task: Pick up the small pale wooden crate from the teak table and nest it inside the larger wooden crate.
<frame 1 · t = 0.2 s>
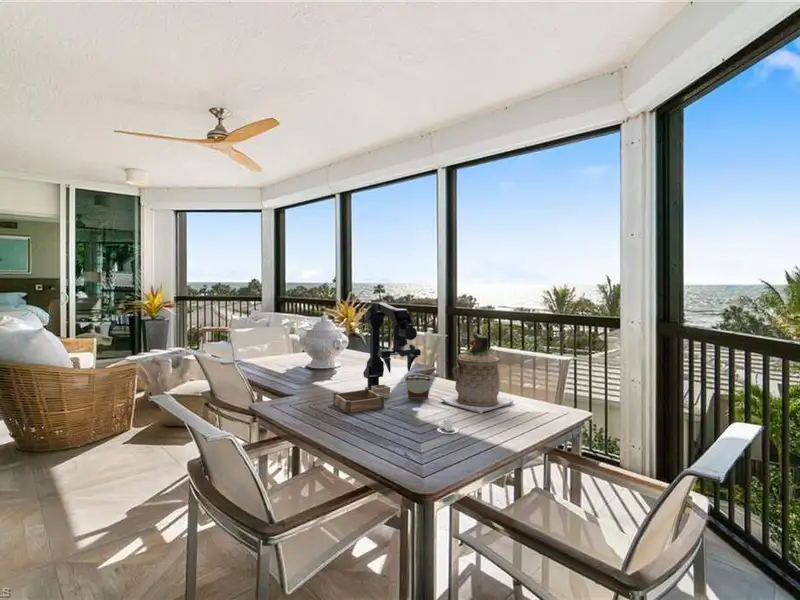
hand: (399, 371, 199), 14 cm above the table, tool pointing down, fingers open, 9 cm apart
teacup and saucer: (452, 429, 167), on the table
cookie jar: (476, 403, 199), on the table
pale crate: (380, 397, 209), on the table
food container: (418, 396, 210), on the table
crate: (358, 405, 195), on the table
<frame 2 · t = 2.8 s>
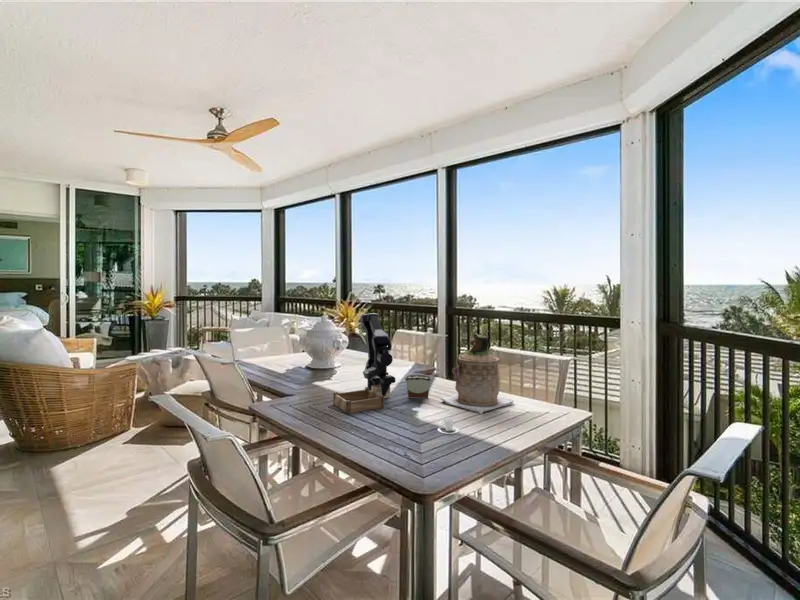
hand: (380, 394, 209), 1 cm above the table, tool pointing down, fingers closed on pale crate, 6 cm apart
pale crate: (380, 396, 209), on the table, touching gripper
everything else where it was.
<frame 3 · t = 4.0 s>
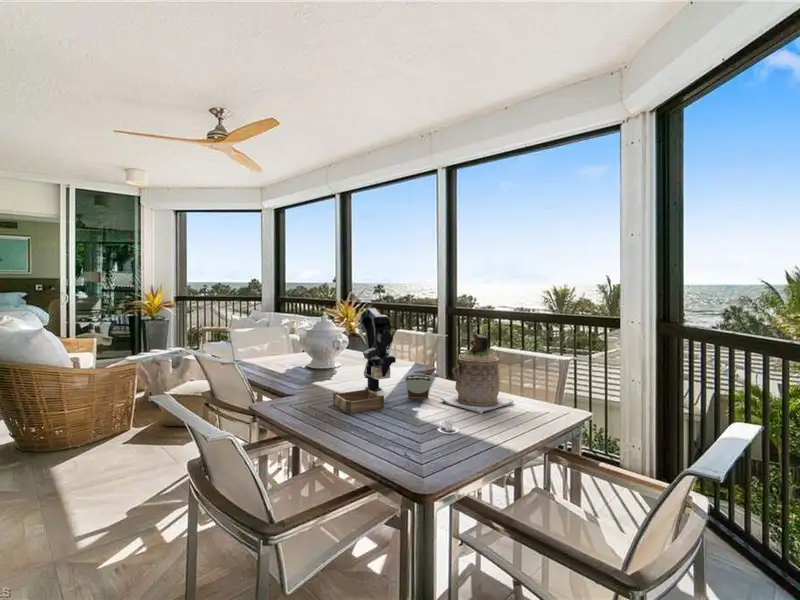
hand: (380, 375, 208), 10 cm above the table, tool pointing down, fingers closed on pale crate, 6 cm apart
pale crate: (380, 377, 208), point 9 cm above the table, touching gripper
everything else where it was.
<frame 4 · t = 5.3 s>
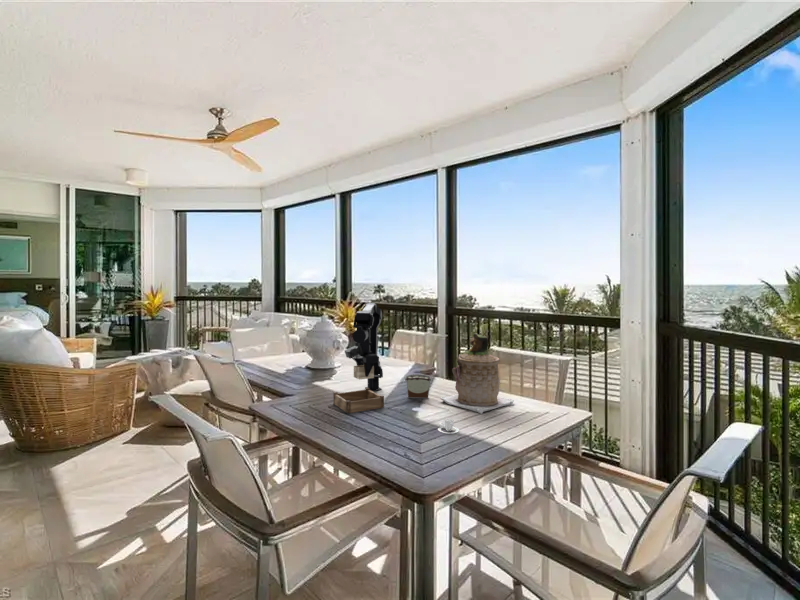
hand: (363, 375, 197), 13 cm above the table, tool pointing down, fingers closed on pale crate, 6 cm apart
pale crate: (363, 377, 197), point 12 cm above the table, touching gripper
everything else where it was.
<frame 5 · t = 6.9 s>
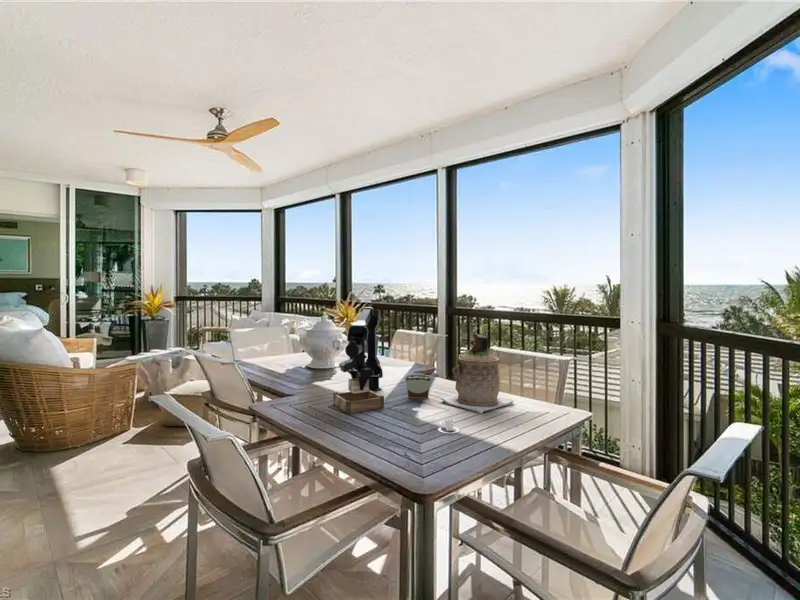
hand: (358, 388, 194), 7 cm above the table, tool pointing down, fingers closed on pale crate, 6 cm apart
pale crate: (358, 390, 194), point 6 cm above the table, touching gripper
everything else where it was.
when the fingers open (3 cm above the table, at t = 8.3 s): pale crate drops 2 cm, resting on crate.
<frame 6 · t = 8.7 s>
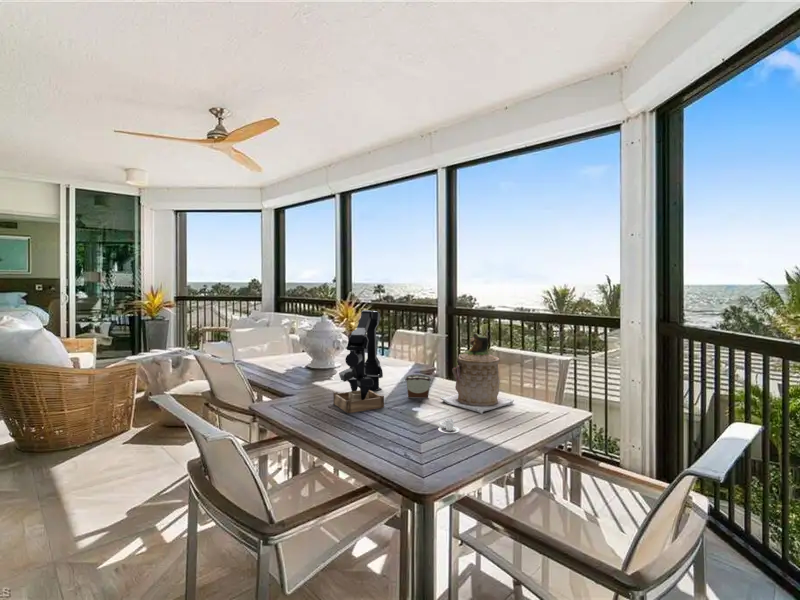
hand: (358, 397, 195), 3 cm above the table, tool pointing down, fingers open, 9 cm apart
pale crate: (358, 403, 195), point 1 cm above the table, touching crate
everything else where it was.
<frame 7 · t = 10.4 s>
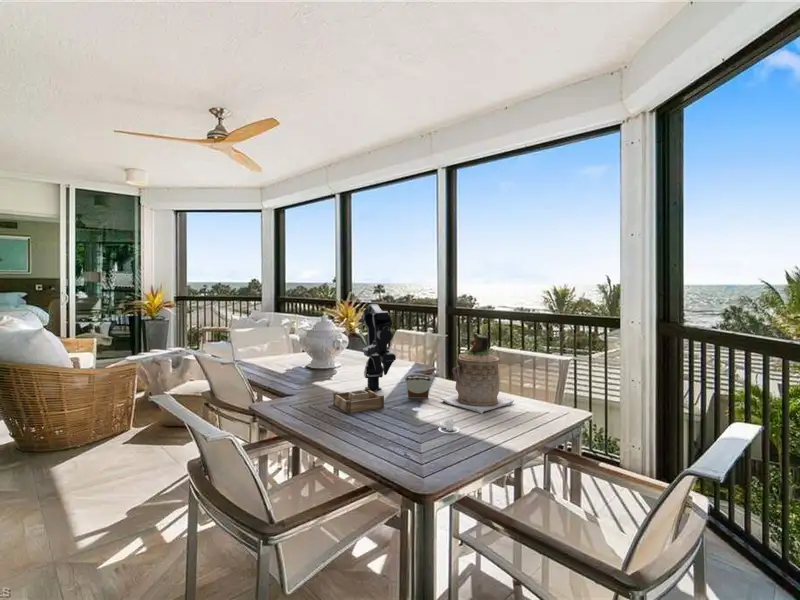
hand: (380, 372, 204), 12 cm above the table, tool pointing down, fingers open, 9 cm apart
nothing on the table moved.
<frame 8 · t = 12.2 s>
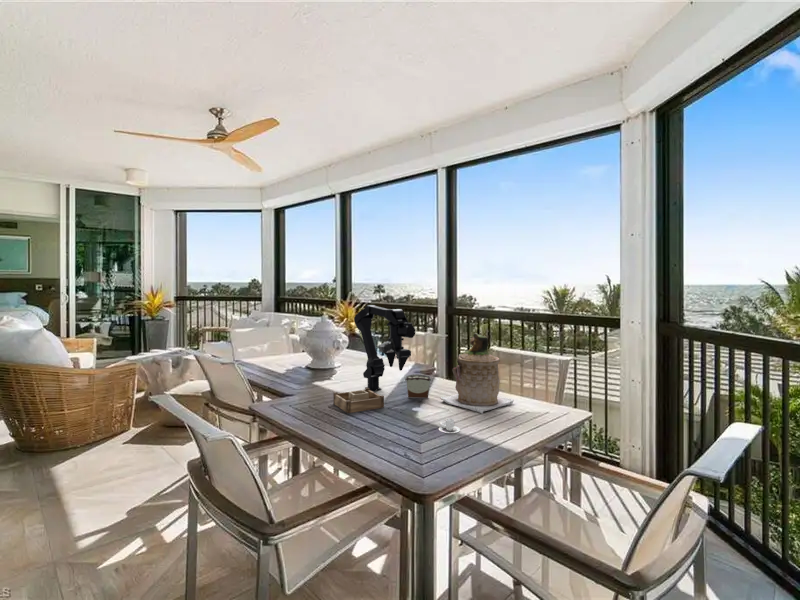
hand: (395, 368, 210), 13 cm above the table, tool pointing down, fingers open, 9 cm apart
nothing on the table moved.
at the end: pale crate inside the target area on the crate (0.1 cm from its centre), point 0.8 cm above the crate's base; pale crate tilted 0°; the gripper is holding nothing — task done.
